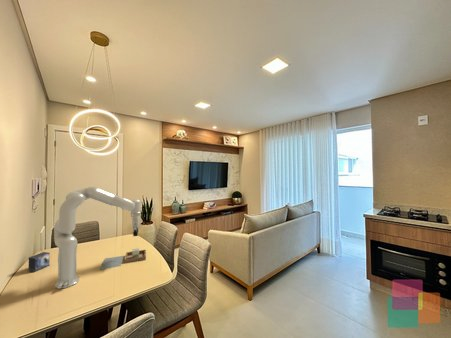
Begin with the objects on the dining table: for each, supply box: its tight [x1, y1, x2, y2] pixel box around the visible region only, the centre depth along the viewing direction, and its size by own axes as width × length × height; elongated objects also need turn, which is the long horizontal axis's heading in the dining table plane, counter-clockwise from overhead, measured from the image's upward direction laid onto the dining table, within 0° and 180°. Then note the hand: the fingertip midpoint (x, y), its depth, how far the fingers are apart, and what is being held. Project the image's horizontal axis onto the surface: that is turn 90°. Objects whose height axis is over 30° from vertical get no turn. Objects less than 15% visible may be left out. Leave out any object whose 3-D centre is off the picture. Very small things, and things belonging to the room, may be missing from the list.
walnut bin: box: [123, 249, 147, 264], centre depth 167 cm, size 16×16×3 cm
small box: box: [27, 251, 51, 273], centre depth 150 cm, size 11×6×10 cm, turn 168°
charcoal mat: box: [99, 255, 125, 271], centre depth 159 cm, size 20×14×1 cm
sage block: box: [131, 247, 140, 258], centre depth 167 cm, size 5×5×7 cm
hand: (135, 234), depth 167 cm, fingers open, 9 cm apart
